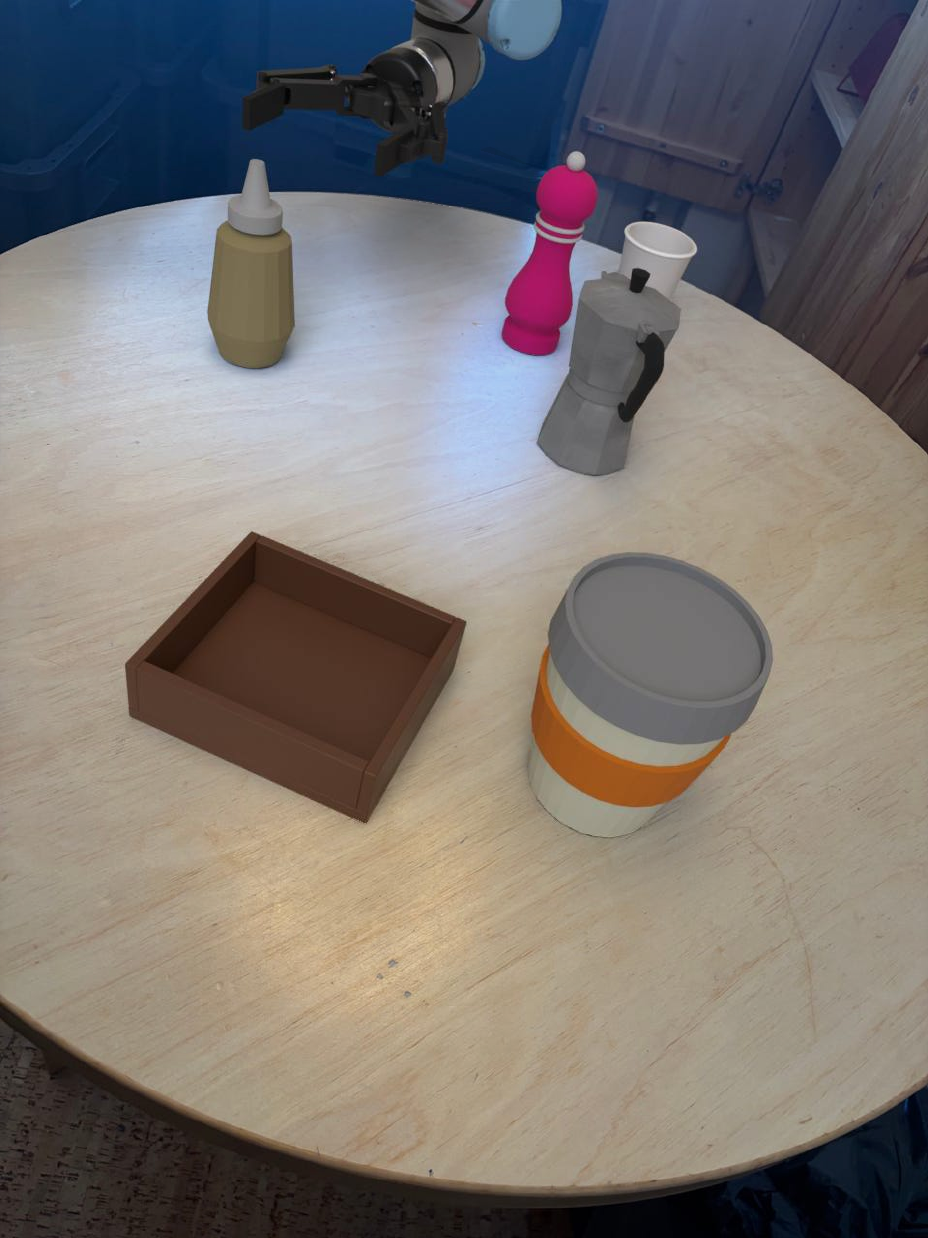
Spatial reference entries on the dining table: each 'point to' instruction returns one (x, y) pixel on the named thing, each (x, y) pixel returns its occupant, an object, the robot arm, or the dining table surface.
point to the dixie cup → (657, 254)
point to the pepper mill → (550, 260)
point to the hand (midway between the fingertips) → (311, 137)
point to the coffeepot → (608, 371)
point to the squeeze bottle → (252, 277)
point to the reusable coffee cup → (640, 688)
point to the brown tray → (297, 673)
